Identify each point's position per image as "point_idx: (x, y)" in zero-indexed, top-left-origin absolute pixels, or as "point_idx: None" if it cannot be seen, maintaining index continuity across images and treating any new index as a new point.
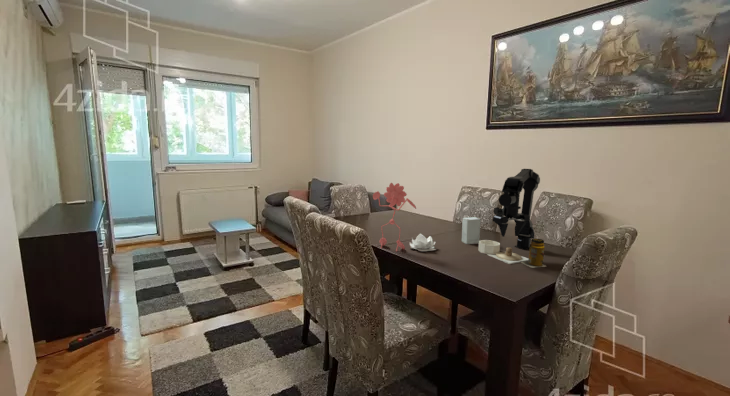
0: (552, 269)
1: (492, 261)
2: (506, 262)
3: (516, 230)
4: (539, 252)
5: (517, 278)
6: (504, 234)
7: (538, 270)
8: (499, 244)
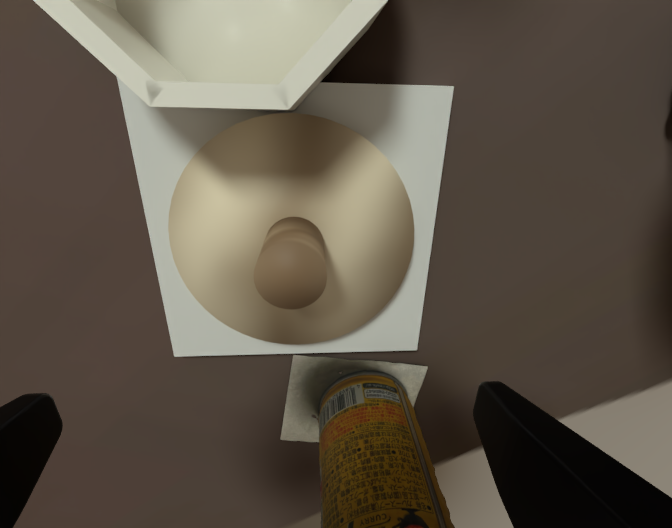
0: None
1: (70, 251)
2: (171, 325)
3: (536, 473)
4: None
5: (53, 511)
6: (10, 498)
7: (282, 470)
8: (302, 82)
